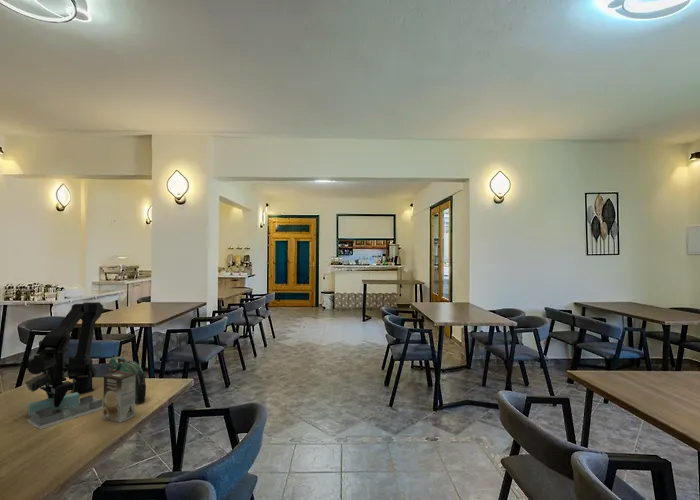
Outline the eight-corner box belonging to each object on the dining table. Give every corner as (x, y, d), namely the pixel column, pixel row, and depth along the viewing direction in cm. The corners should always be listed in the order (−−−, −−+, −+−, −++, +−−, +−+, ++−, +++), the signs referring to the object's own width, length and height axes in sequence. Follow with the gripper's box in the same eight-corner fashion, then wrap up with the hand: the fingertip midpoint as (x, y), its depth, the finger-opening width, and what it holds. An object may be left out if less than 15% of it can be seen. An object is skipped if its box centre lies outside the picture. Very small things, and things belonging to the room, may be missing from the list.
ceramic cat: (106, 397, 150) (107, 350, 151) (122, 392, 156) (122, 346, 157) (135, 406, 141) (135, 356, 142) (150, 400, 147) (151, 352, 147)
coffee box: (101, 419, 130) (102, 375, 130) (118, 412, 136) (118, 370, 136) (120, 423, 127) (120, 378, 127) (136, 415, 133) (136, 372, 133)
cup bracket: (95, 400, 147) (95, 393, 147) (109, 406, 141) (109, 398, 141) (27, 421, 128) (27, 413, 128) (39, 429, 122) (39, 420, 122)
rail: (76, 401, 146) (77, 392, 146) (79, 404, 144) (79, 394, 144) (28, 414, 135) (28, 403, 135) (29, 416, 132) (29, 405, 132)
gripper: (19, 367, 137) (18, 408, 137) (39, 375, 128) (38, 419, 127) (54, 360, 147) (53, 398, 147) (75, 367, 137) (74, 408, 137)
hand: (54, 405), depth 139 cm, fingers closed on rail, 4 cm apart
